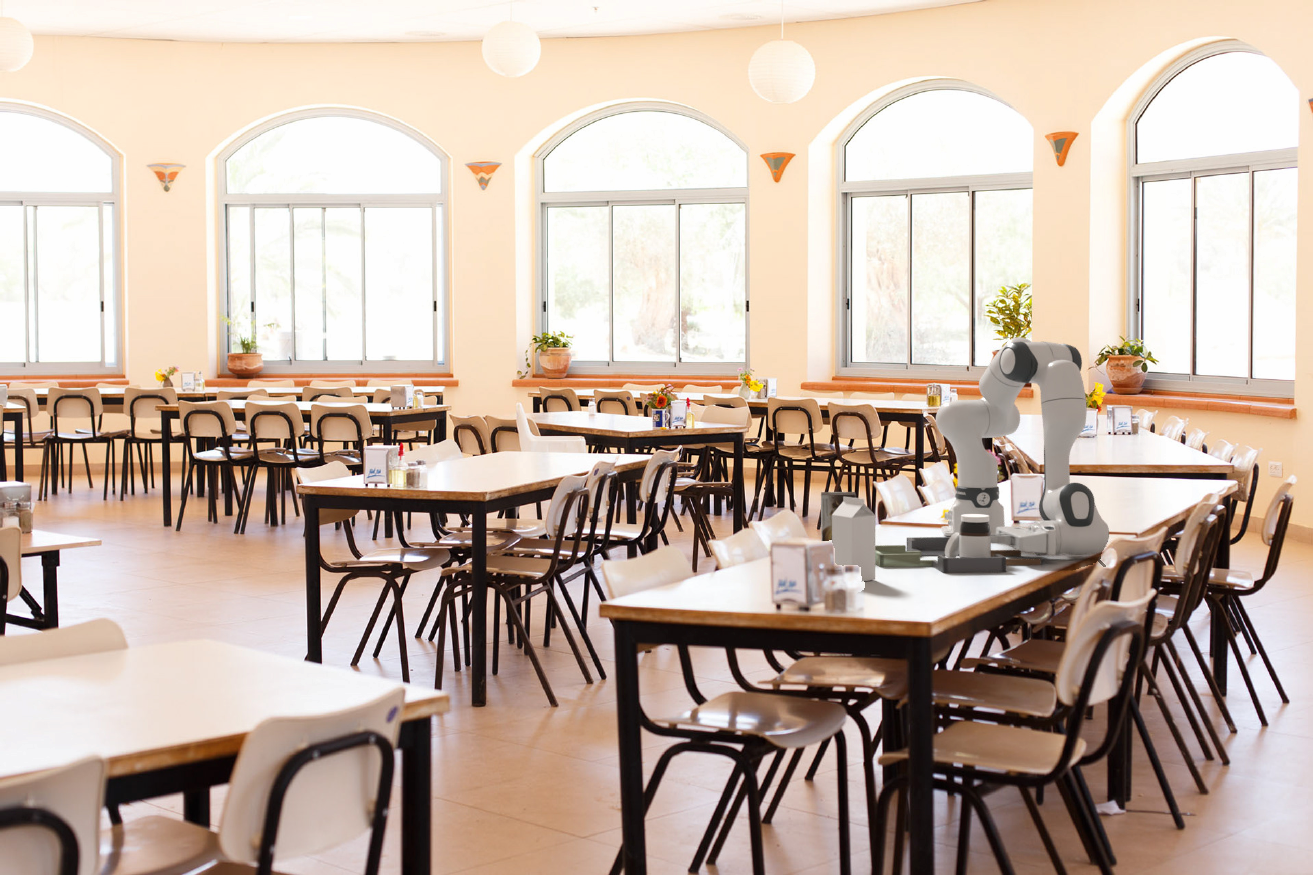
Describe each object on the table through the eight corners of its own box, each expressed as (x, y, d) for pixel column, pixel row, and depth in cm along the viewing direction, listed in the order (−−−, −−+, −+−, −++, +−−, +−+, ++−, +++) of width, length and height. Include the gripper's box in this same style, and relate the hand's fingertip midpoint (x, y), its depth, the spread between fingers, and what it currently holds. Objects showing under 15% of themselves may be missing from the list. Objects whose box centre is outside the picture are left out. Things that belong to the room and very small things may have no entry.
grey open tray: (906, 550, 349) (906, 537, 349) (962, 549, 350) (962, 536, 350) (916, 556, 339) (916, 542, 339) (973, 555, 340) (973, 542, 339)
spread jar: (990, 565, 323) (990, 518, 323) (943, 563, 326) (943, 517, 326) (991, 558, 335) (991, 512, 334) (945, 556, 338) (946, 511, 337)
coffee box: (855, 552, 347) (855, 491, 346) (856, 556, 340) (857, 493, 339) (820, 552, 348) (820, 491, 347) (821, 555, 341) (821, 493, 340)
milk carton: (851, 583, 299) (851, 500, 298) (831, 579, 305) (831, 497, 304) (875, 580, 303) (875, 498, 302) (855, 576, 309) (855, 495, 308)
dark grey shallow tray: (932, 566, 323) (932, 551, 323) (992, 565, 324) (992, 551, 323) (943, 572, 312) (943, 558, 312) (1005, 572, 313) (1006, 557, 313)
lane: (866, 557, 338) (866, 545, 338) (1019, 555, 340) (1019, 543, 340) (879, 566, 322) (879, 554, 322) (1040, 564, 324) (1040, 552, 324)
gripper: (1029, 520, 342) (977, 521, 342) (1057, 530, 322) (1001, 531, 321) (1029, 544, 343) (976, 545, 342) (1057, 556, 322) (1001, 557, 322)
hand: (989, 538), depth 331 cm, fingers closed
